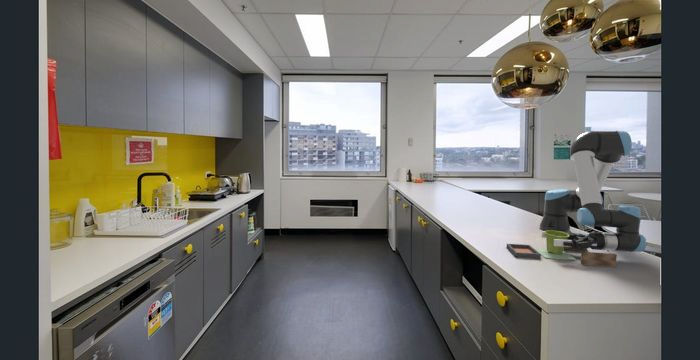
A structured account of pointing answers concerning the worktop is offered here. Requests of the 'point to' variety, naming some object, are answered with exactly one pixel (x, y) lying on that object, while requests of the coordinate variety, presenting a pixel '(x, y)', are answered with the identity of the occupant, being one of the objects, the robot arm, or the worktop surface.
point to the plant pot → (550, 241)
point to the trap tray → (523, 251)
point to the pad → (555, 255)
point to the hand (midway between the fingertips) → (547, 238)
